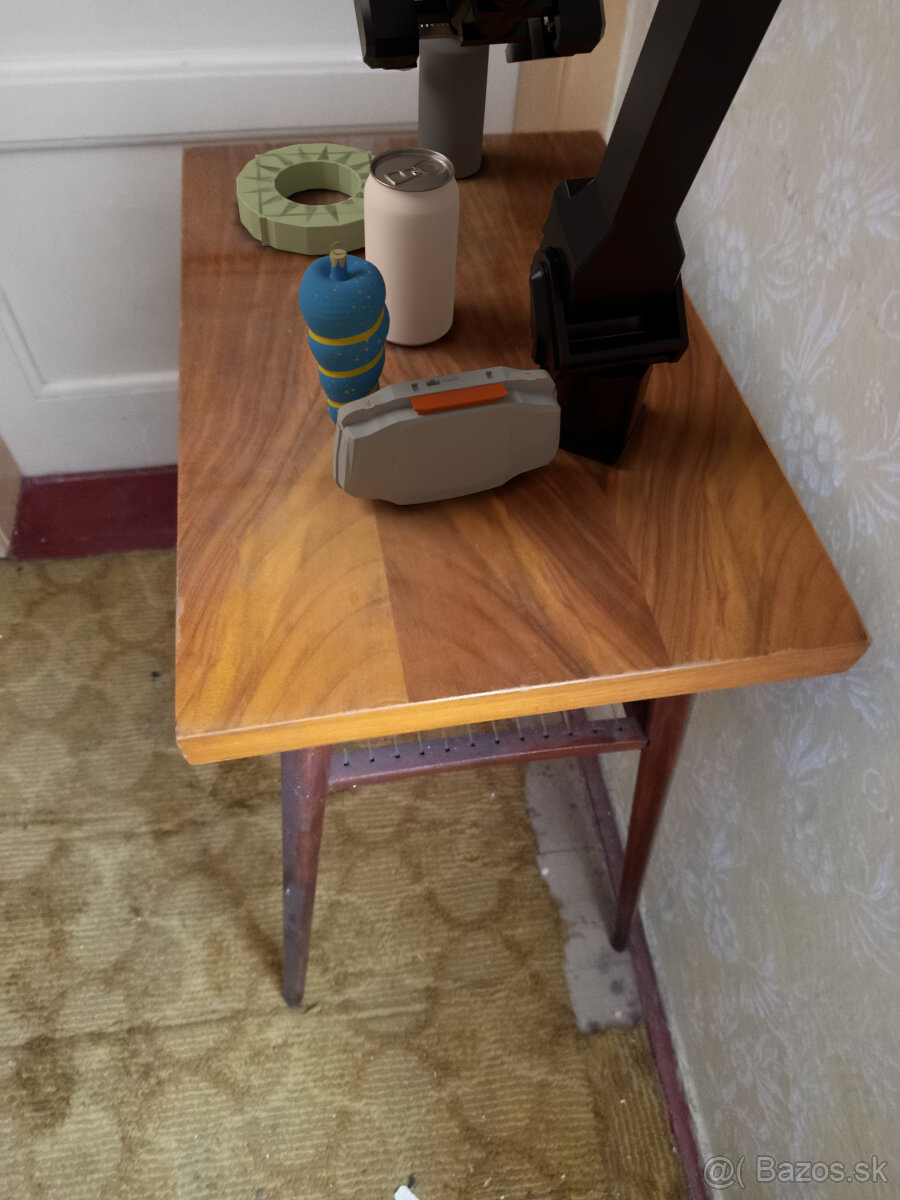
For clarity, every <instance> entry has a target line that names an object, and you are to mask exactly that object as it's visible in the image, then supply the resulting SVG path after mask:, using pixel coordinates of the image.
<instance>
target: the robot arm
mask: <svg viewBox="0 0 900 1200" xmlns="http://www.w3.org/2000/svg"><path fill="white" fill-rule="evenodd" d="M352 1H353V6H354V12H355V18H356V20H355V21H356V27H357V33H358V37H359V44H360V50H361V51H360V52H361V57H362V62H363V63H364V64H365V65H367V67H368V68H370V69H371V70H378V69H382V70H384V71H392V70H393V71H400V72H407V71H411V70H415V69H417V68H418V60H419V57H420V40H421V39H436V38H451V37H459V44H460V47H466V46H480V45H489V46H493V45H506V47H505V50H504V53H505V59H506V60H505V61H506V63H507V64H515V63H524V62H532V61H542V60H543V61H544V60H550V59H551V60H552V59H559V58H560V59H561V58H571V57H575V56H576V55H585V54H591V53H592V52H593V51H594V50H595V48H596V47H597V46H598V45H599V44H600V42H601V41H602V39H604V36H605V33H606V26H607V21H606V13H605V12H606V11H605V4H604V3H605V2H604V0H352ZM782 2H783V0H658V1H657V4H656V8H655V10H654V13H653V16H652V19H651V21H650V24H649V27H648V30H647V33H646V35H645V38H644V40H643V44H642V47H641V50H640V52H639V55H638V58H637V61H636V63H635V67H634V69H633V72H632V75H631V77H630V80H629V82H628V83H629V84H628V85H627V89H626V92H625V94H624V98H623V99H622V103H621V105H620V108H619V111H618V114H617V117H616V120H615V122H614V125H613V128H612V131H611V134H610V136H609V139H608V143H607V144H606V148H605V151H604V153H603V156H602V158H601V162H600V164H599V167H598V171H597V172H596V175H594V176H584V177H575V178H565V179H562V180H561V181H560V182H559V184H558V185H557V186H556V188H555V189H554V190H553V193H552V198H551V203H550V208H549V212H548V215H547V218H546V220H545V222H544V223H543V224H542V225H541V233H542V234H543V236H542V239H541V241H540V244H539V248H538V249H537V250H536V251H535V253H534V255H533V258H532V263H531V264H530V266H529V270H530V271H529V277H528V288H529V327H530V331H531V338H532V348H531V354H530V358H531V360H532V362H533V364H535V365H537V366H538V370H545V371H547V372H548V373H549V374H550V376H551V378H552V380H553V381H554V383H555V385H556V386H555V388H556V390H557V403H558V404H559V406H560V408H561V411H560V434H559V445H558V447H561V448H565V449H567V450H570V451H573V452H575V453H577V454H581V455H583V456H586V457H589V458H591V459H594V460H597V461H600V462H603V463H606V464H608V465H611V466H613V465H617V464H619V462H620V461H621V459H622V458H623V455H624V453H625V452H626V450H627V448H628V447H629V444H630V442H631V441H632V439H633V437H634V435H635V434H636V431H637V430H638V428H639V425H640V424H641V422H642V420H643V418H644V417H645V415H646V413H647V410H648V409H647V408H648V406H647V404H646V403H644V402H645V398H646V394H647V392H648V391H647V390H648V388H649V384H650V381H651V380H650V379H651V376H652V373H653V369H654V365H659V364H666V363H669V364H675V363H679V362H680V360H681V358H682V357H683V356H684V354H685V353H686V351H687V350H688V348H689V347H690V337H689V328H688V320H687V312H686V304H685V295H684V287H683V279H682V269H683V266H684V264H685V260H686V257H687V256H686V255H687V254H686V251H685V248H684V244H683V241H682V237H681V234H680V230H679V226H678V223H677V219H678V216H679V213H680V210H681V209H682V206H683V204H684V202H685V200H686V199H687V196H688V194H689V192H690V190H691V189H692V186H693V183H694V181H695V180H696V178H697V176H698V174H699V172H700V169H701V167H702V165H703V163H704V161H705V159H706V158H707V155H708V153H709V151H710V148H711V147H712V145H713V143H714V140H715V139H716V136H717V135H718V133H719V131H720V129H721V126H722V125H723V122H724V120H725V119H726V116H727V114H728V112H729V110H730V108H731V106H732V104H733V102H734V100H735V98H736V96H737V94H738V91H739V89H740V87H741V85H742V83H743V81H744V80H745V78H746V75H747V74H748V71H749V69H750V67H751V64H752V63H753V60H754V59H755V57H756V54H757V52H758V51H759V48H760V46H761V44H762V43H763V40H764V39H765V36H766V35H767V32H768V30H769V28H770V26H771V24H772V22H773V20H774V18H775V16H776V14H777V12H778V9H779V7H780V5H781V3H782ZM446 23H448V25H447V24H446ZM432 24H433V26H432ZM436 24H438V26H437V25H436ZM442 24H443V26H442ZM452 24H453V25H452Z"/></svg>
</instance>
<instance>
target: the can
mask: <svg viewBox="0 0 900 1200" xmlns="http://www.w3.org/2000/svg"><path fill="white" fill-rule="evenodd" d="M374 156H375V157H374V158H373V159H372V161H371V163H370V166H369V170H370V175H369V177H368V179H367V181H366V184H365V187H364V224H365V247H364V250H365V251H364V253H365V254H364V255H365V257H364V258H365V260H367V261H369V262H371V263H373V264H374V265H375V266H376V267H377V268H378V270H379V271H380V273H381V274H382V276H383V279H384V282H385V286H386V299H385V304H386V306H387V308H388V311H389V317H390V326H389V332H388V335H387V338H386V341H385V342H388V343H391V344H393V345H397V346H403V347H421V346H425V345H429V344H431V343H434V342H436V341H438V340H439V339H441V338H443V336H445V335H446V334H447V333H448V332H449V330H450V329H451V327H452V325H453V321H454V308H455V307H454V306H455V291H456V275H457V258H458V257H457V255H458V239H459V220H460V197H461V196H460V188H459V185H458V182H457V180H456V178H454V173H455V168H454V165H453V163H452V162H451V161H450V159H448V158H447V157H446V156H444V155H443V154H441V153H439V152H436V151H434V150H430V149H426V148H420V147H418V146H400V147H399V146H398V147H394V148H389V149H386V150H385V151H382V152H380V153H378V154H376V155H374Z"/></svg>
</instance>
